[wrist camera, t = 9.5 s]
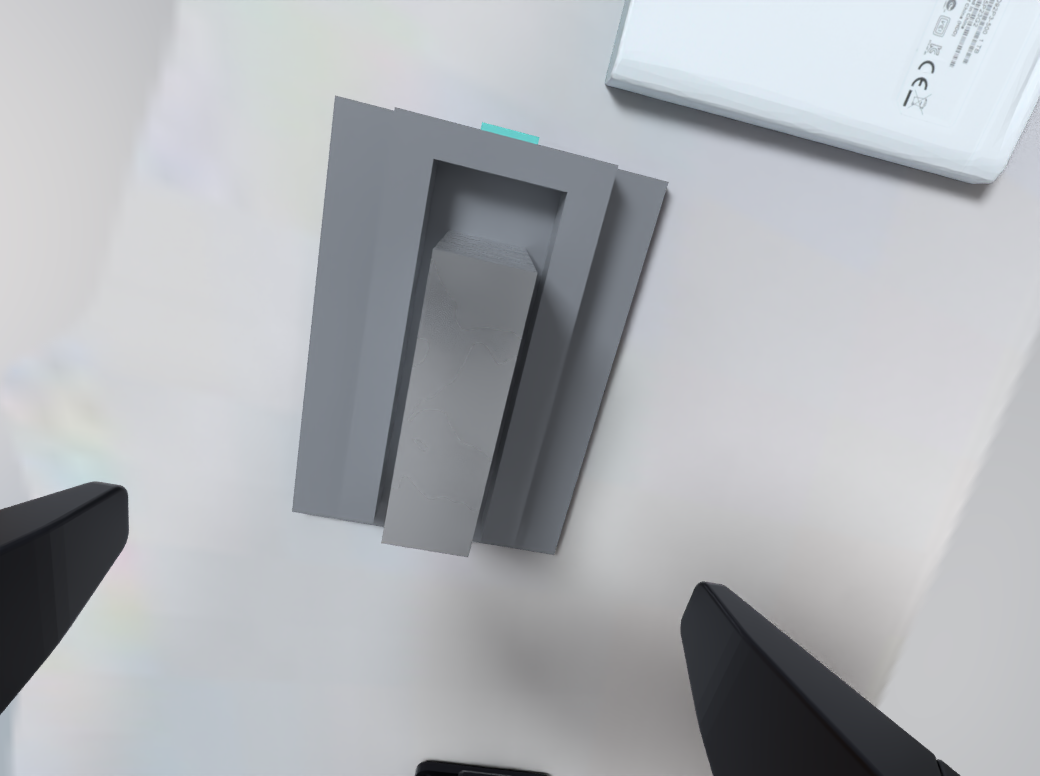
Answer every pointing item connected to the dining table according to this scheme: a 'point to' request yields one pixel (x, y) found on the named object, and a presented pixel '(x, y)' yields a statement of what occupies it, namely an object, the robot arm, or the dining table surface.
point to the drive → (457, 390)
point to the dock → (400, 296)
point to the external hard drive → (848, 72)
